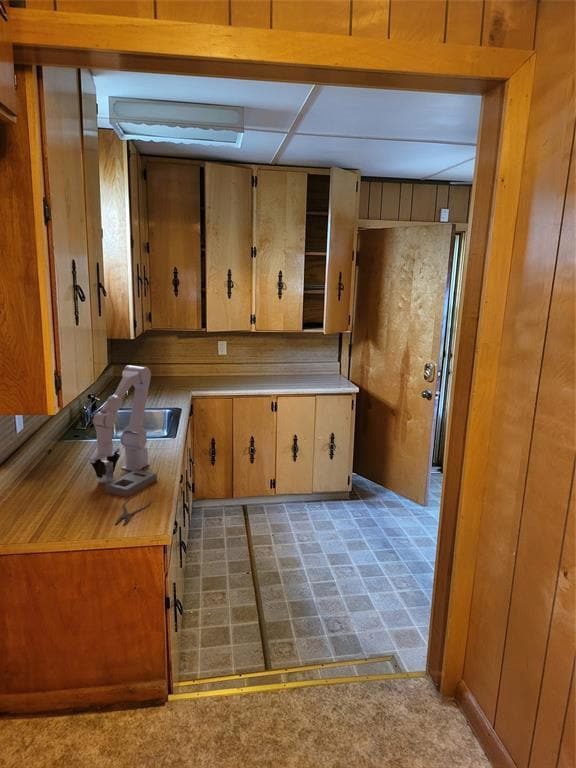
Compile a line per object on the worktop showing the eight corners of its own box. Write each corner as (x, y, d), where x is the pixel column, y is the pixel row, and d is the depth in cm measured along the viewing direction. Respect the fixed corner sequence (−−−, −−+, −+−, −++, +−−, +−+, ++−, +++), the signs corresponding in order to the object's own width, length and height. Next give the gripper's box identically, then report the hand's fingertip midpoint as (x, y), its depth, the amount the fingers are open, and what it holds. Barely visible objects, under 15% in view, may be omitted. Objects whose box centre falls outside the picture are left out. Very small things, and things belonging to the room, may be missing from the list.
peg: (105, 478, 196) (105, 460, 194) (113, 480, 194) (112, 461, 193) (98, 482, 192) (97, 463, 190) (106, 484, 190) (105, 464, 189)
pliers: (152, 497, 179) (144, 523, 160) (152, 500, 179) (144, 526, 160) (125, 498, 178) (114, 524, 158) (125, 500, 178) (114, 527, 158)
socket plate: (136, 475, 200) (136, 468, 199) (156, 480, 196) (156, 473, 195) (105, 492, 183) (105, 484, 183) (126, 497, 180) (126, 489, 179)
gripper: (99, 448, 182) (100, 482, 184) (125, 438, 195) (126, 470, 198) (84, 445, 184) (86, 479, 187) (111, 435, 197) (112, 467, 200)
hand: (105, 474), depth 192 cm, fingers open, 6 cm apart
